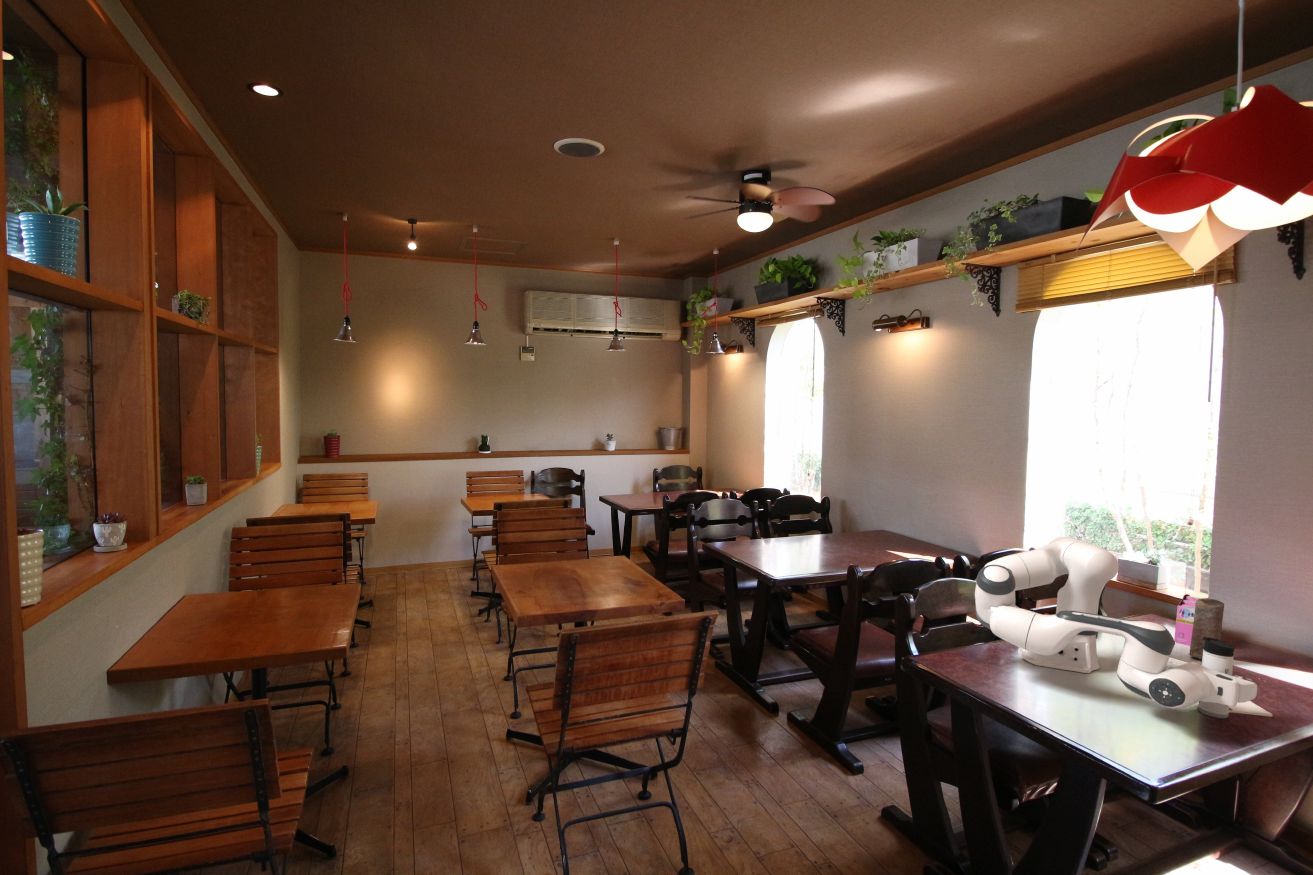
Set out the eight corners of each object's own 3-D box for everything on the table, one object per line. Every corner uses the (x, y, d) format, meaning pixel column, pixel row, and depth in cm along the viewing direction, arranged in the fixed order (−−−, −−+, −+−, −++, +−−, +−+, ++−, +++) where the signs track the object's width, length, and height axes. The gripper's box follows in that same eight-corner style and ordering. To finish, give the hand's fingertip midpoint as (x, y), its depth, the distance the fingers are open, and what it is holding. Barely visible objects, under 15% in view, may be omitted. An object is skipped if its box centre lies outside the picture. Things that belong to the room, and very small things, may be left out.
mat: (1227, 711, 179) (1228, 708, 179) (1190, 687, 195) (1191, 684, 195) (1272, 716, 177) (1272, 713, 177) (1231, 691, 193) (1231, 688, 193)
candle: (1224, 663, 216) (1229, 602, 215) (1210, 665, 213) (1215, 604, 212) (1197, 654, 223) (1202, 596, 222) (1183, 656, 221) (1189, 597, 220)
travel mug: (1196, 705, 183) (1202, 634, 182) (1227, 713, 178) (1234, 640, 177) (1196, 712, 178) (1202, 639, 177) (1228, 721, 174) (1235, 646, 172)
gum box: (1182, 628, 252) (1185, 592, 251) (1209, 633, 247) (1212, 597, 246) (1173, 642, 235) (1176, 604, 234) (1202, 648, 230) (1205, 610, 229)
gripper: (1146, 678, 180) (1170, 669, 187) (1242, 709, 162) (1264, 698, 169) (1148, 655, 180) (1172, 647, 187) (1244, 684, 162) (1266, 674, 169)
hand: (1217, 672), depth 178 cm, fingers open, 8 cm apart
